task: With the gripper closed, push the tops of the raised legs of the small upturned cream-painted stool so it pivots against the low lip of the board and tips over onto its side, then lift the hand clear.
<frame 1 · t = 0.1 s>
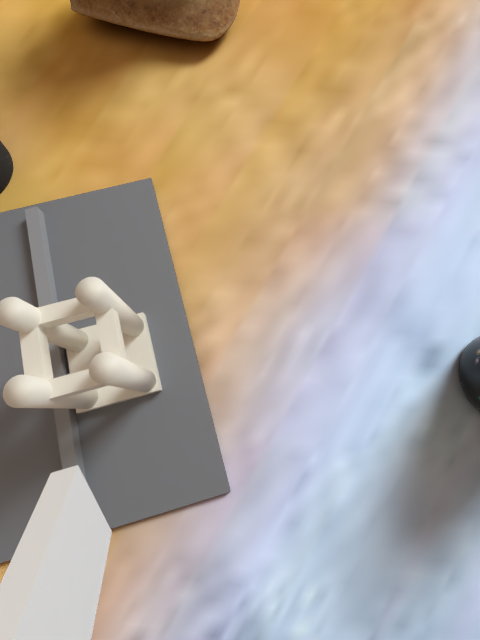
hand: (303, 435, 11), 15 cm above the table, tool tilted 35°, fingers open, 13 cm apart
stool: (114, 362, 26), resting on board
board: (72, 348, 27), on the table
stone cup: (168, 8, 36), on the table
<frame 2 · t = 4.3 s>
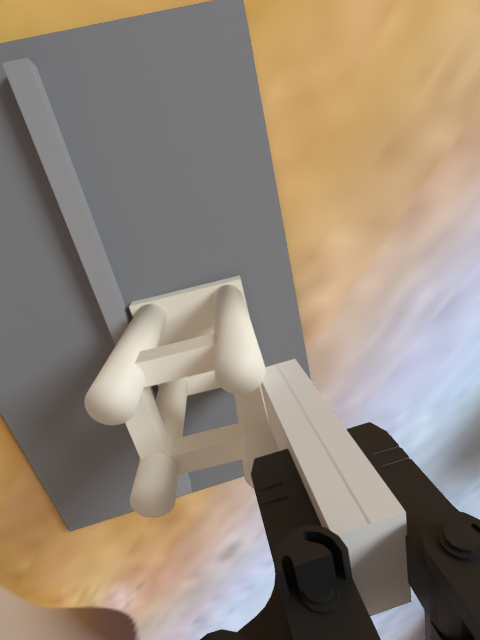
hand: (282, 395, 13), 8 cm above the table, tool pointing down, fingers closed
stool: (200, 337, 20), point 1 cm above the table, tilted 5°, touching gripper, board
board: (138, 316, 20), on the table
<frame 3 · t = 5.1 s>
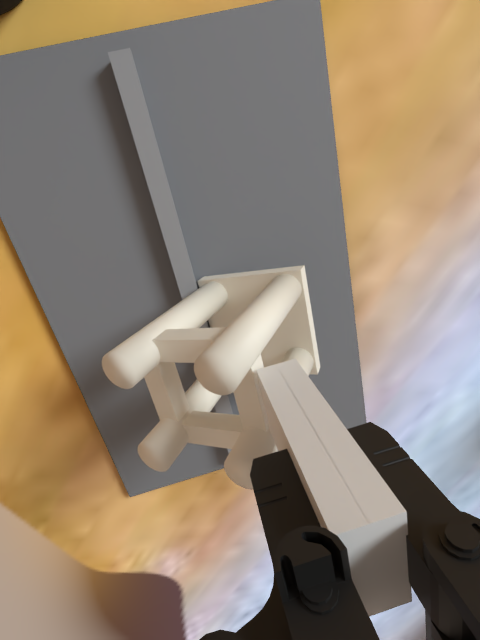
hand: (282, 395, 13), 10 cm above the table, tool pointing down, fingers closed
stool: (261, 321, 20), point 2 cm above the table, tilted 33°, touching gripper, board
board: (205, 291, 21), on the table
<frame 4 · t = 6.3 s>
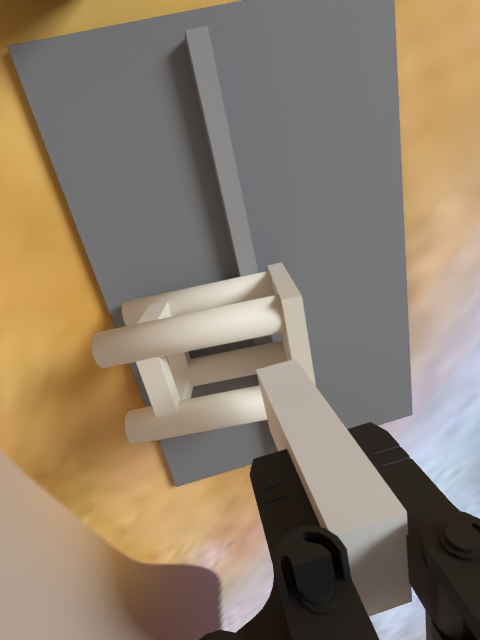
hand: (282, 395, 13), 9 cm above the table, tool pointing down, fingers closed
stool: (299, 333, 17), point 5 cm above the table, tilted 99°, touching board
board: (261, 277, 21), on the table
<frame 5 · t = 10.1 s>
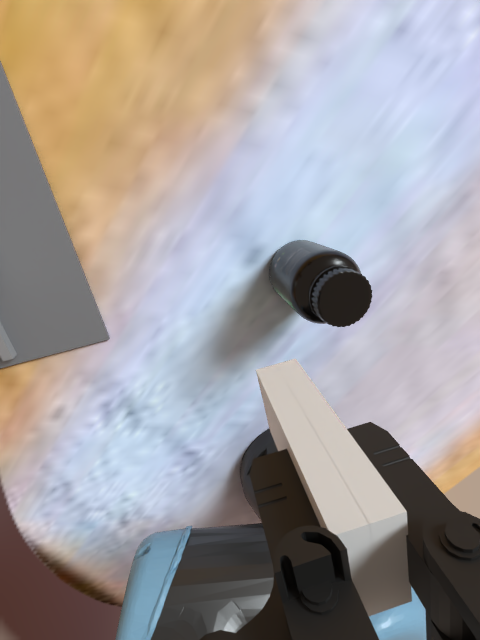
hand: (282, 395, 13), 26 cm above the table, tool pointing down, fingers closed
supplement bottle: (297, 269, 39), on the table
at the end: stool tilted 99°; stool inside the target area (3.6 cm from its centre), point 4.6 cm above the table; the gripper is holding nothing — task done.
